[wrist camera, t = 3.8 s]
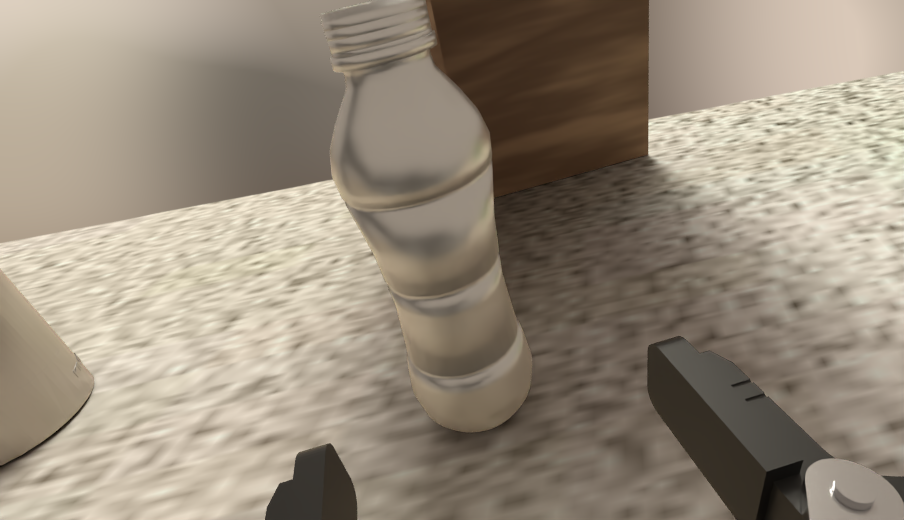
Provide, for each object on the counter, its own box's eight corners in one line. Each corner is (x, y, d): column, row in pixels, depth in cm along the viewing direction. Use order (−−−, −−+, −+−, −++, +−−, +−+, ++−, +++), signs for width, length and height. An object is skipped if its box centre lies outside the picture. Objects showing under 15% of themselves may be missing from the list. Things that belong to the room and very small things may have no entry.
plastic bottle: (556, 371, 27) (500, -33, 16) (503, 471, 22) (379, 1, 12) (462, 345, 30) (366, 0, 20) (399, 427, 26) (235, 36, 15)
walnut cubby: (779, 224, 34) (886, -402, 19) (475, 313, 33) (331, -276, 18) (640, 150, 50) (638, -216, 35) (434, 208, 49) (342, -145, 34)
